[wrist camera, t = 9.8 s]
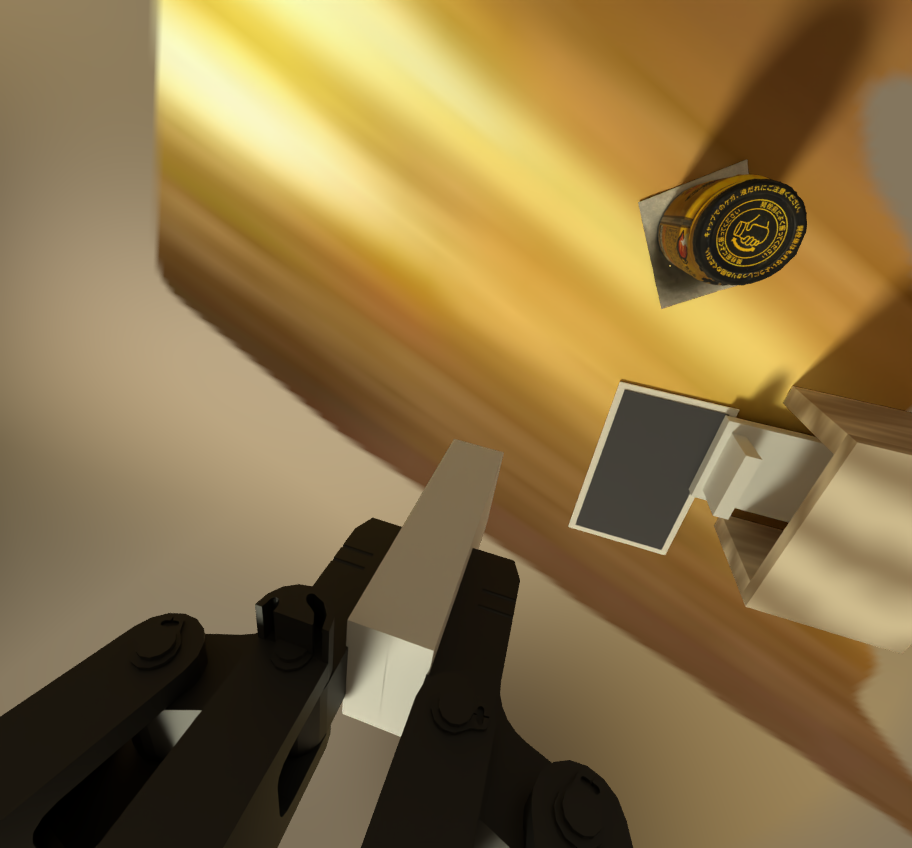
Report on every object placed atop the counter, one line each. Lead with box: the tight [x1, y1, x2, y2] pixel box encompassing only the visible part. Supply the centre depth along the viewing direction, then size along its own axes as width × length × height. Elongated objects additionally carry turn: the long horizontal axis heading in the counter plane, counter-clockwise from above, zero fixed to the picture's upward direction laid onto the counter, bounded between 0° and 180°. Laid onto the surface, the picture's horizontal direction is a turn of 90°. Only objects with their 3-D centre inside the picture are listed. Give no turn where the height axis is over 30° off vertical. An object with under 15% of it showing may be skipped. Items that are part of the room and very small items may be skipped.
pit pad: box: [568, 381, 739, 555], centre depth 43 cm, size 17×10×1 cm, turn 171°
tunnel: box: [714, 386, 912, 654], centre depth 35 cm, size 15×11×10 cm
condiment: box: [638, 160, 807, 309], centre depth 29 cm, size 7×8×12 cm
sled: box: [689, 415, 834, 523], centre depth 35 cm, size 8×25×7 cm, turn 81°
